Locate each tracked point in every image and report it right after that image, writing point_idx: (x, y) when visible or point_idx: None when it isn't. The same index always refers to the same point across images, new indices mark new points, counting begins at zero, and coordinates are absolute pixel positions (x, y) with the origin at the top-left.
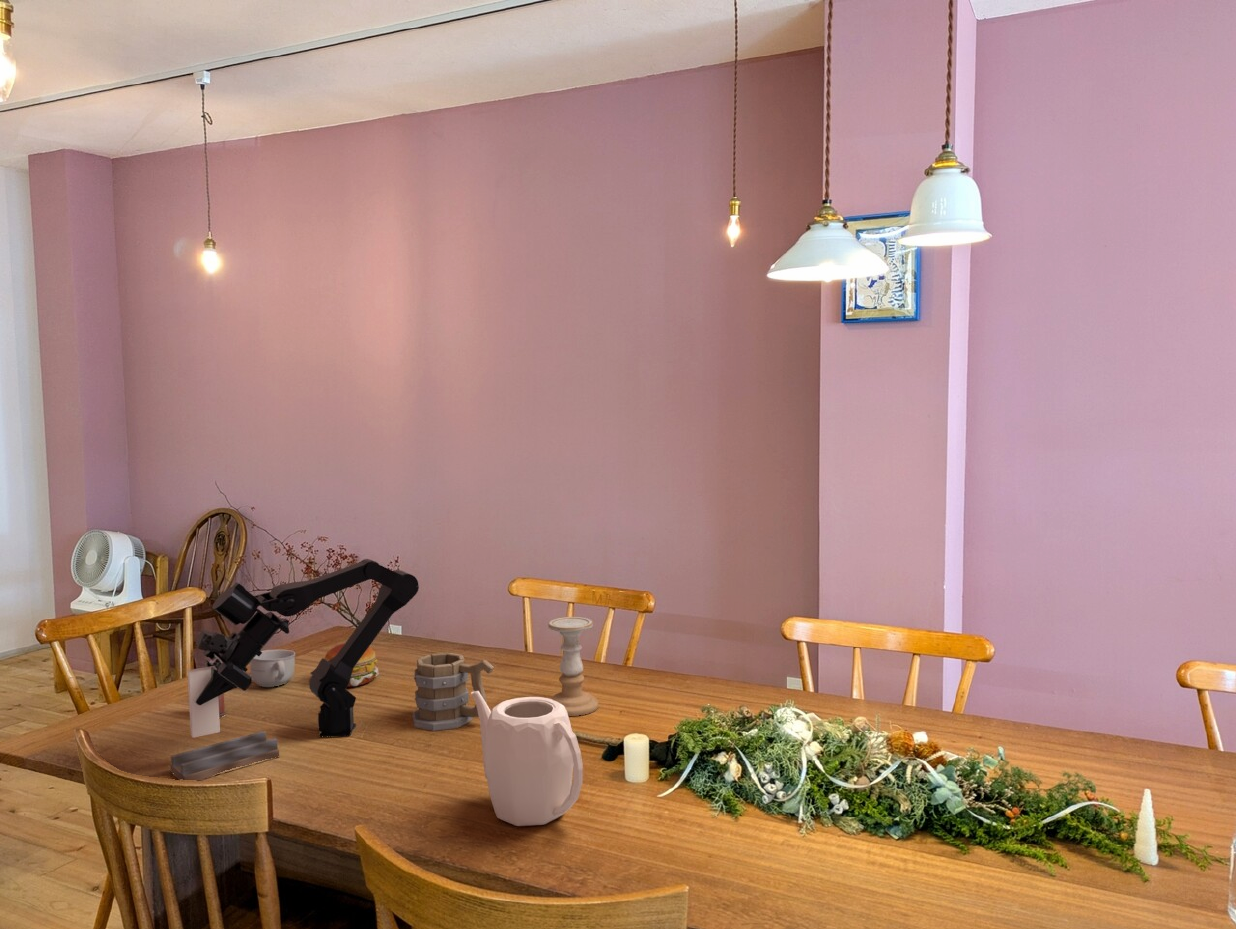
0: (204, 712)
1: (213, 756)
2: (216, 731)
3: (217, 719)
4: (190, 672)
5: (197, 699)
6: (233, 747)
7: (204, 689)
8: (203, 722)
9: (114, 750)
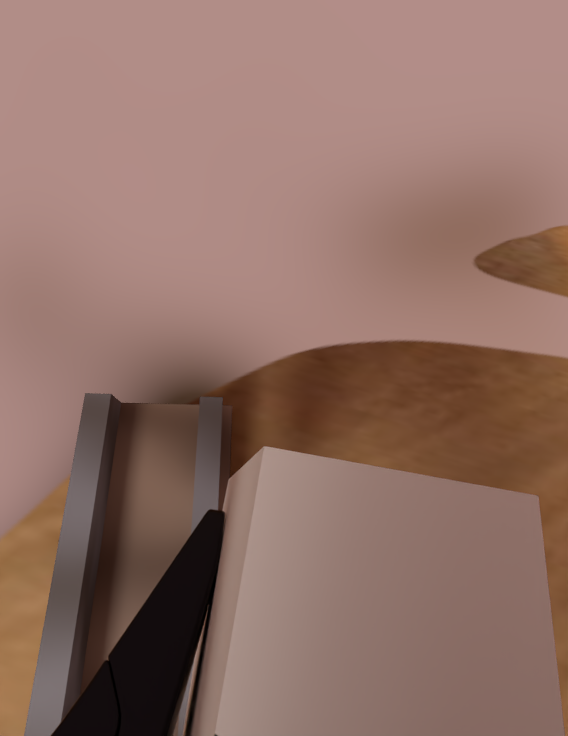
0: None
1: (74, 516)
2: None
3: None
4: (331, 500)
5: (208, 526)
6: None
7: (154, 632)
8: None
9: (491, 358)
